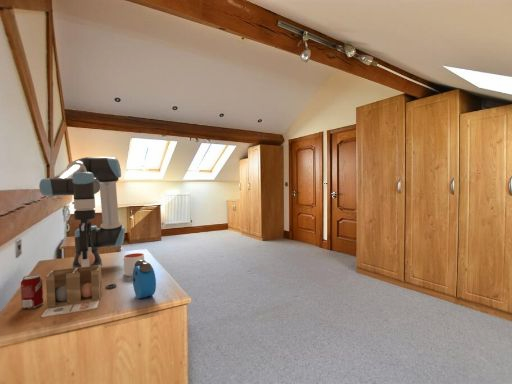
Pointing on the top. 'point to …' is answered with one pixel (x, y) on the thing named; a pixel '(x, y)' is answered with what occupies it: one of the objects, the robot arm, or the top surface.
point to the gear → (110, 286)
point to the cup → (131, 262)
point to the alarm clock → (143, 279)
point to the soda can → (31, 291)
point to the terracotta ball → (86, 290)
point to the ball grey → (61, 294)
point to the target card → (70, 308)
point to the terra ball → (91, 259)
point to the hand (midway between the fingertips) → (86, 264)
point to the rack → (73, 285)
